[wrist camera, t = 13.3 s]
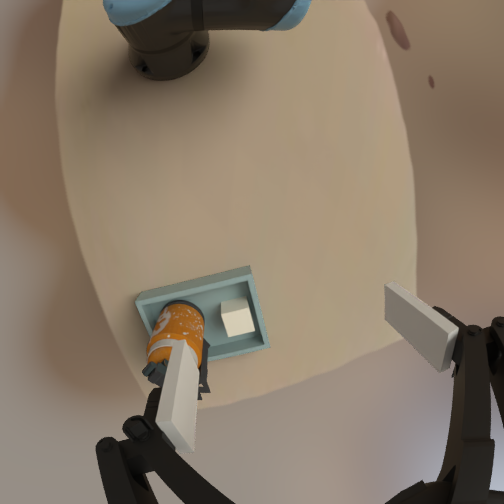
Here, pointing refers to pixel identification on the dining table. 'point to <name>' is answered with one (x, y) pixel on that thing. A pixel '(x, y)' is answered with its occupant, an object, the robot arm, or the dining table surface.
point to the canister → (174, 329)
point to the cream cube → (237, 316)
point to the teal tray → (211, 309)
